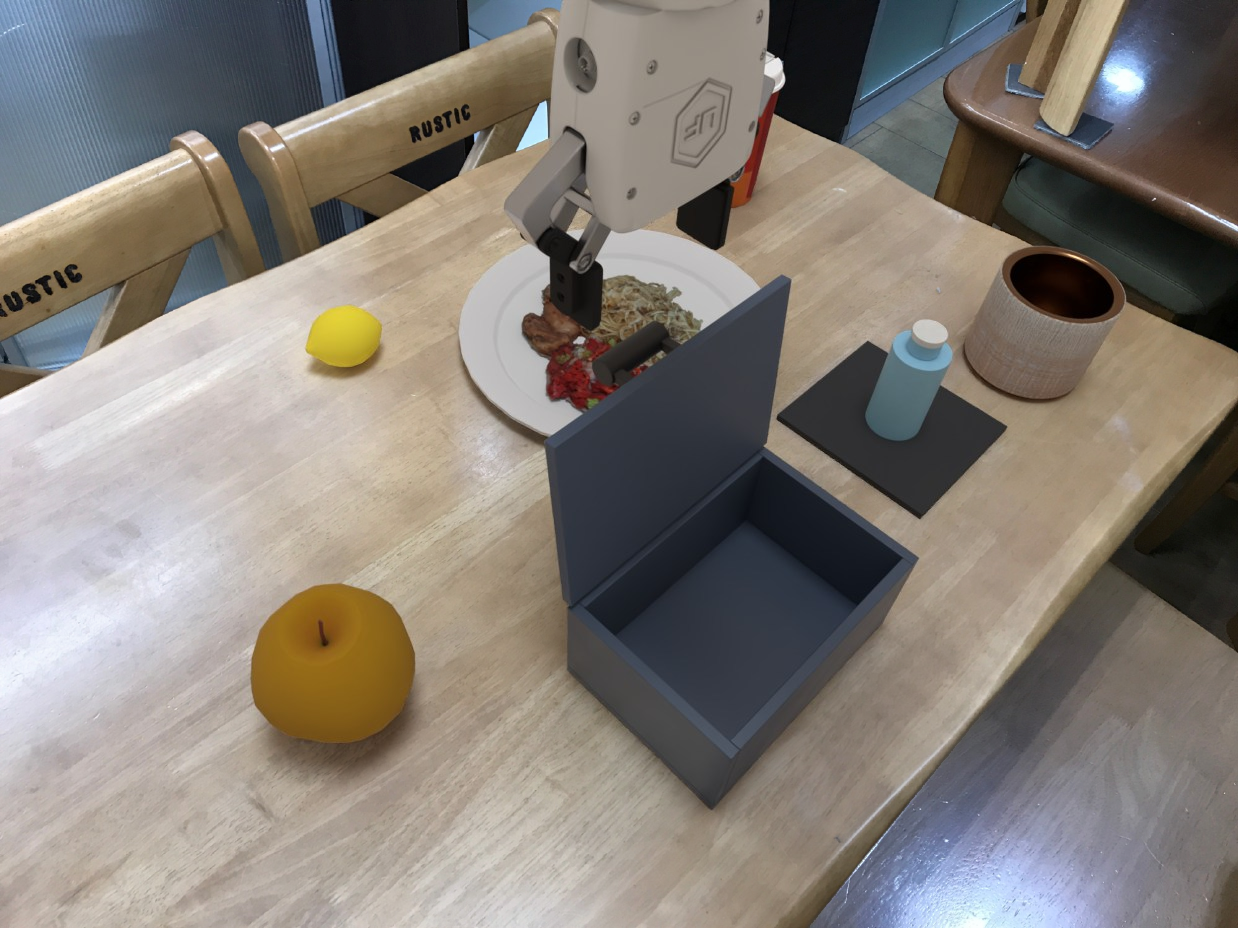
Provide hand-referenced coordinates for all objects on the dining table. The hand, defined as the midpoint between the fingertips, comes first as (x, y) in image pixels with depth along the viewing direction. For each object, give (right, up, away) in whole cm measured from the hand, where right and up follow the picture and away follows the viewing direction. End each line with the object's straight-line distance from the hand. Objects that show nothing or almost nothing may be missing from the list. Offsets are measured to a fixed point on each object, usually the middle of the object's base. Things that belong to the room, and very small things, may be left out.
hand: (640, 274), depth 48 cm
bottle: (+23, -6, +30) cm, 39 cm away
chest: (+7, -23, +16) cm, 29 cm away
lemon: (-26, -1, +33) cm, 42 cm away
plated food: (-1, +1, +36) cm, 36 cm away
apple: (-19, -27, +12) cm, 35 cm away
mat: (+23, -7, +31) cm, 39 cm away
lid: (+3, -9, +6) cm, 11 cm away
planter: (+37, -1, +37) cm, 52 cm away
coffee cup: (+11, +20, +52) cm, 57 cm away
